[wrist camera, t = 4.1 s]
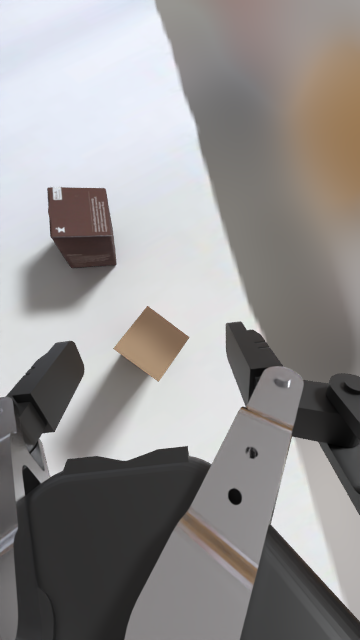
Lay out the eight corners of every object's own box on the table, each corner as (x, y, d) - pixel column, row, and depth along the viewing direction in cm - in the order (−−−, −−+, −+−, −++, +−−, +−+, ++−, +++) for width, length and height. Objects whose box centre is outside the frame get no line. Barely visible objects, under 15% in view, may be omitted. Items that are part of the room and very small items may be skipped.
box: (117, 266, 30) (112, 236, 23) (70, 269, 28) (49, 238, 21) (112, 227, 31) (106, 186, 24) (67, 227, 29) (45, 185, 22)
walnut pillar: (149, 374, 28) (158, 381, 17) (121, 353, 27) (113, 348, 17) (169, 346, 29) (189, 337, 18) (142, 326, 29) (147, 305, 18)
